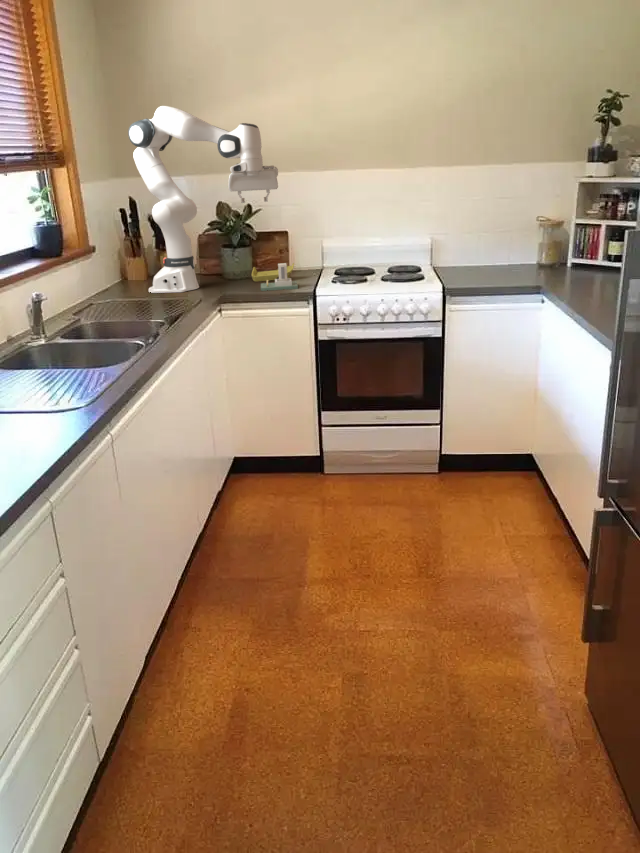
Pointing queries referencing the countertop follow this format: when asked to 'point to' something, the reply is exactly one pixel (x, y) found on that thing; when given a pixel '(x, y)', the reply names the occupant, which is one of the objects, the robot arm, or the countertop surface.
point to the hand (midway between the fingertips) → (254, 202)
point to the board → (279, 285)
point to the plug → (282, 271)
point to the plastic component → (269, 274)
